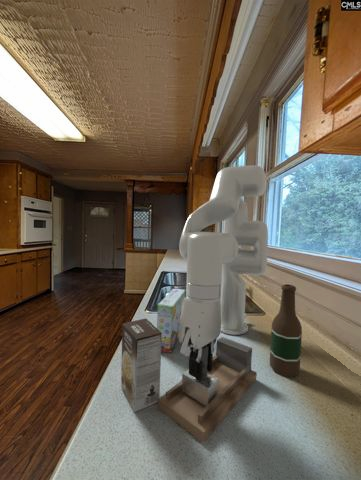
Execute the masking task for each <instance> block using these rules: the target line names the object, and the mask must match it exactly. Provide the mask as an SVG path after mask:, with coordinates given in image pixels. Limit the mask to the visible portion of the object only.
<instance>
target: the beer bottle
mask: <svg viewBox="0 0 361 480" xmlns="http://www.w3.org/2000/svg"><path fill="white" fill-rule="evenodd" d="M280 289H281V290H282V292H281V298H280V305H279V311H278V313H277V314H276V315H275V317H274V318H273V320H272V323H271V331H270V345H269V346H270V348H269V349H270V350H269V351H270V352H269V366H270V368H271V369H272V370H273V372H274V373H275V374H277V375H280V376H283V377H284V378H296V376H297V375H298V373H299V372H300V368H301V357H302V356H301V355H302V354H301V353H302V339H303V337H302V336H303V331H302V330H303V327H302V324H301V321H300V320H299V318H298V317H297V314H296V291H297V288H296V286H295V285H293V284H289V283H288V284H283V285H282V286H281V288H280Z"/></svg>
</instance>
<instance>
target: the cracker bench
mask: <svg viewBox="0 0 361 480" xmlns="http://www.w3.org/2000/svg"><path fill="white" fill-rule="evenodd" d="M252 356H253V347H251V346H248V345H245V344H243V343H240V342H238V341H234V340H232V339H230V338H227V337H224V336H221V337H220V338H217V339H216V352H215V355H214V356H213V360H212V371H211V372H209V371H207V373H208V374H210V375H212V376H214V377H216V378H218V379H219V389H218V395H217V396H216V397H215V398H214V399H213V400H212V401H211V402H210V403H209V404H208V405H207V406H205V405H203V404H202V403H200V402H199V401H197V400H196V399H194V398H192V397H191V396H189V395H188V394H186V393H184V392H183V391H182V380H180V381H179V382H178V383H177V384H175V385H174V386H173V387H171V388H169V389H168V390H167V391H165V393H164V394H162V395H160V396H159V399H158V402H157V409H158V410H159V411H161V412H162V413H163V414H165V416H168V417H169V418H170V419H171V420H172V421H174V422H175V423H176V424H177V425H179V426H180V427H182V428H183V429H184V430H186V431H187V432H188V433H189V434H191V435H192V436H194V437H195V438H196V439H197V440H199V441H200V442H202V443H205V442H206V440H207V439H208V438H209V437H210V436H211V435H212V433H213V432H214V431H215V429H217V427H218V426H219V425H220V424H221V423H222V421H223V420H224V419H225V418H226V417H227V416H228V414H229V413H230V412H231V411H232V409H234V407H235V406H236V405H237V403H238V402H239V401H240V400H241V399H242V398H243V396H244V395H245V394H246V393H247V391H249V389H250V388H251V387H252V386H253V384H254V383H255V382H256V381H257V371H254V370H252V360H253V359H252V358H253V357H252Z"/></svg>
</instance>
